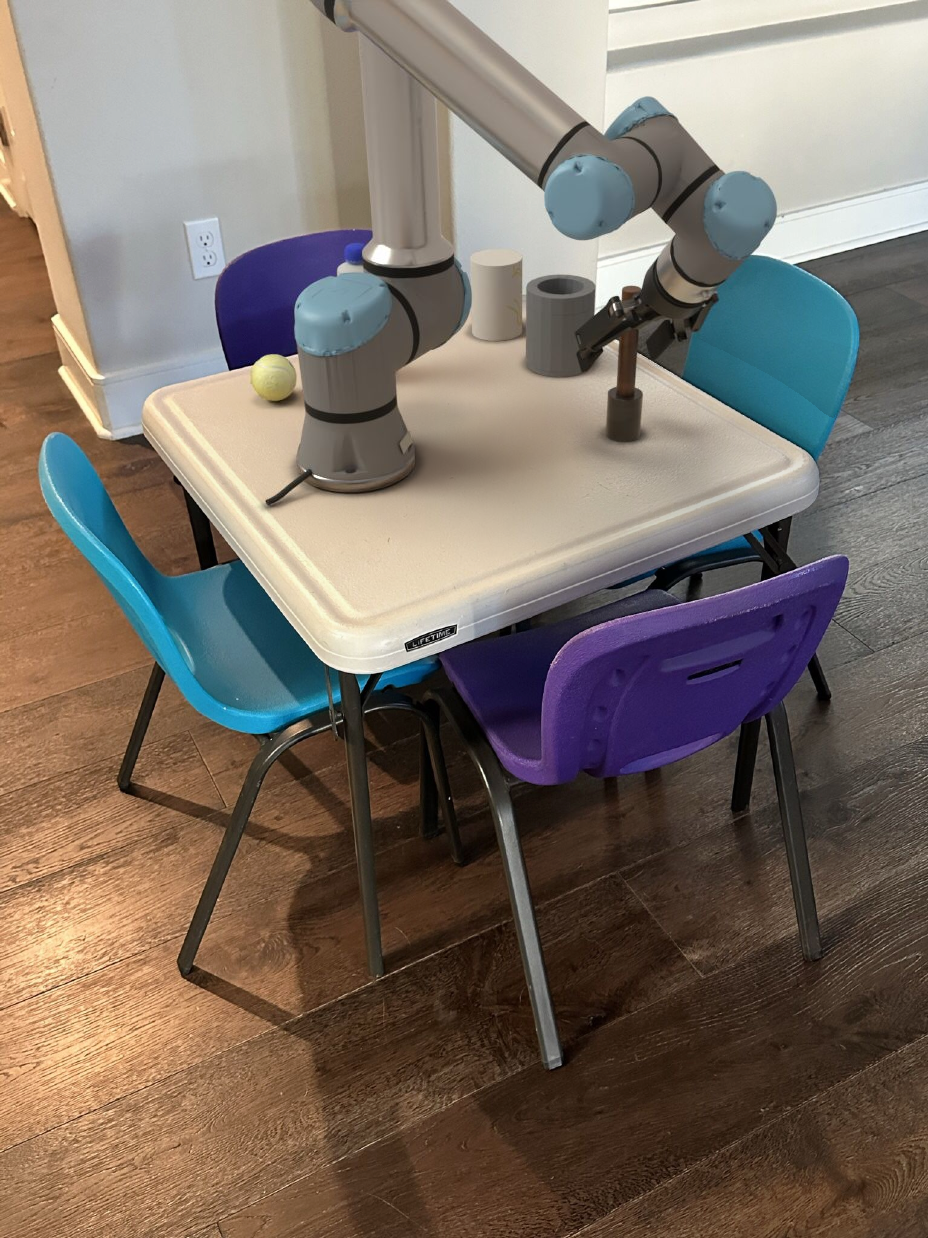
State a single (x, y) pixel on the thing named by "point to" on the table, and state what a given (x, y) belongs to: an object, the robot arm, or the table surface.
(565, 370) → the grey thick-walled tube
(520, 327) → the cream marbled cylinder
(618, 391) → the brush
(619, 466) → the table surface
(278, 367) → the tennis ball
